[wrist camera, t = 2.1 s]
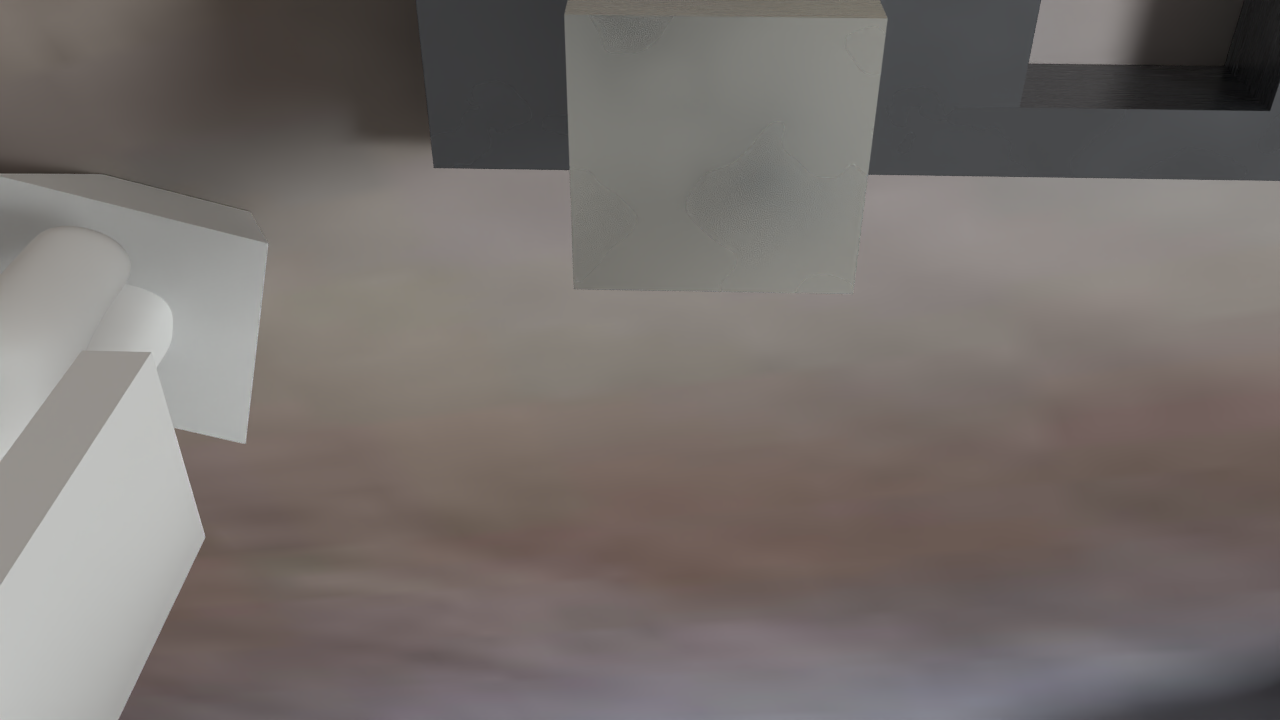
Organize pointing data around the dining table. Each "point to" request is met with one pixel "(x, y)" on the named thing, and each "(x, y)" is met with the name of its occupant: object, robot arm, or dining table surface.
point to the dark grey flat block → (901, 96)
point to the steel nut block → (720, 142)
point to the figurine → (128, 294)
